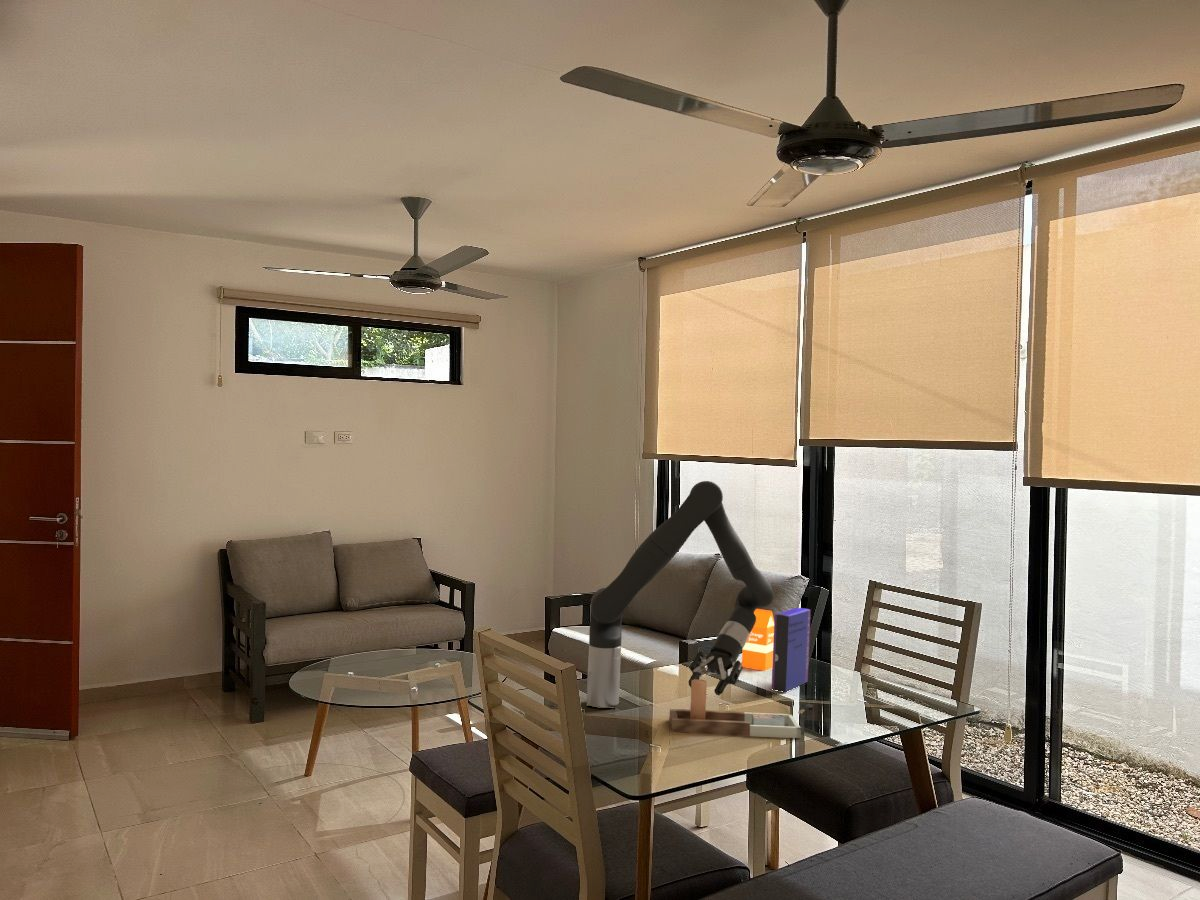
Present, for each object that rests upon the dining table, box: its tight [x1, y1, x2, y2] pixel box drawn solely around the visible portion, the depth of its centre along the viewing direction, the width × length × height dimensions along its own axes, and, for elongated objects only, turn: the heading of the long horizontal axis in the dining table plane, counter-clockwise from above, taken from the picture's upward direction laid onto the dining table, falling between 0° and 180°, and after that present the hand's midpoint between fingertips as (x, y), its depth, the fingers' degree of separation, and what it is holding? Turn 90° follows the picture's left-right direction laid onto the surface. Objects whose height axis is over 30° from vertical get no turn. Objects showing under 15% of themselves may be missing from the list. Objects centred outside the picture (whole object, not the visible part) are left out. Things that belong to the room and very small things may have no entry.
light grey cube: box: [751, 712, 769, 725], centre depth 238 cm, size 4×4×4 cm
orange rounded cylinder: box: [689, 679, 708, 720], centre depth 238 cm, size 4×4×12 cm
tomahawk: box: [797, 703, 813, 715], centre depth 255 cm, size 21×7×1 cm, turn 146°
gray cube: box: [767, 713, 785, 726], centre depth 238 cm, size 4×4×4 cm
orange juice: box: [741, 608, 774, 672], centre depth 313 cm, size 8×9×20 cm
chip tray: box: [743, 711, 802, 739], centre depth 238 cm, size 13×12×4 cm
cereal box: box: [771, 607, 811, 693], centre depth 288 cm, size 17×5×24 cm, turn 145°
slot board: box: [668, 708, 751, 737], centre depth 238 cm, size 20×12×4 cm, turn 90°
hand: (703, 690), depth 240 cm, fingers open, 8 cm apart
